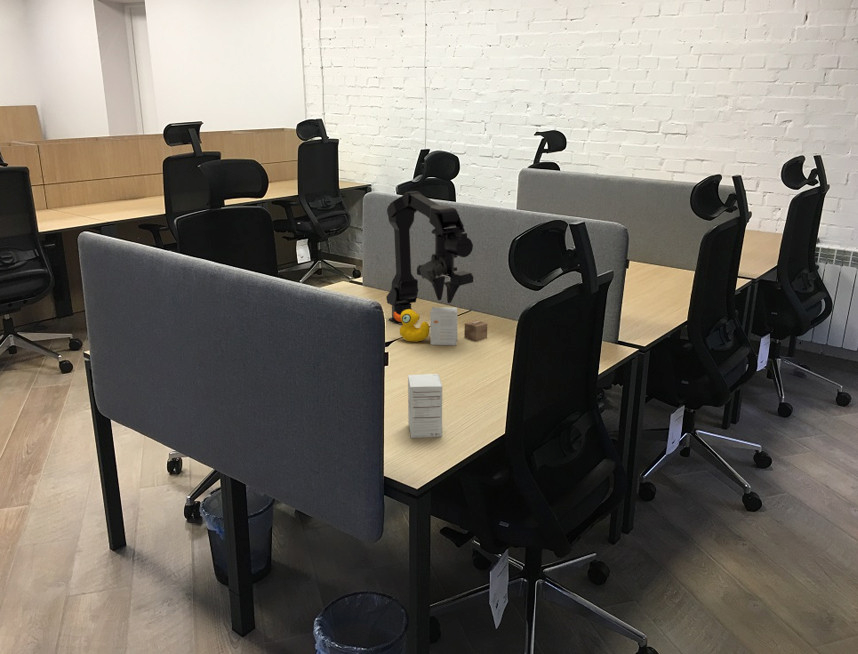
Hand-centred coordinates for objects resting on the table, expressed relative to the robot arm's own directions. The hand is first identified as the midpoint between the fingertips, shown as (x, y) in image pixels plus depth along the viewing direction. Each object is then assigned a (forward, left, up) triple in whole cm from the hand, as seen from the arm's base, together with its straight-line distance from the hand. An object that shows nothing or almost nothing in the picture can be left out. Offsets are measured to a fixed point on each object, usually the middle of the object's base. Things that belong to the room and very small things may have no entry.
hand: (444, 301), depth 225 cm
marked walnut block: (+4, +10, -13) cm, 17 cm away
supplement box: (+40, -46, -13) cm, 62 cm away
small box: (0, 0, -13) cm, 13 cm away
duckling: (-8, -6, -13) cm, 16 cm away
